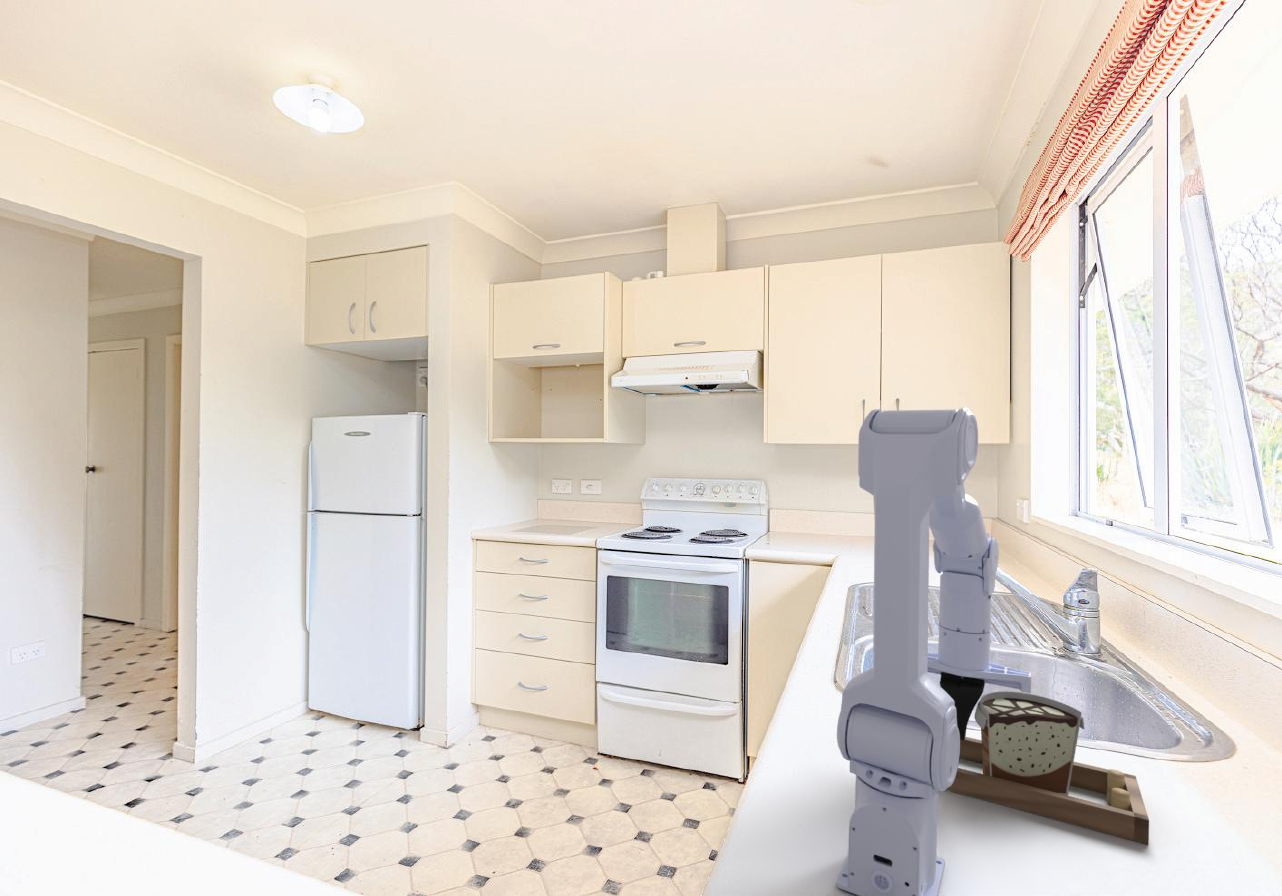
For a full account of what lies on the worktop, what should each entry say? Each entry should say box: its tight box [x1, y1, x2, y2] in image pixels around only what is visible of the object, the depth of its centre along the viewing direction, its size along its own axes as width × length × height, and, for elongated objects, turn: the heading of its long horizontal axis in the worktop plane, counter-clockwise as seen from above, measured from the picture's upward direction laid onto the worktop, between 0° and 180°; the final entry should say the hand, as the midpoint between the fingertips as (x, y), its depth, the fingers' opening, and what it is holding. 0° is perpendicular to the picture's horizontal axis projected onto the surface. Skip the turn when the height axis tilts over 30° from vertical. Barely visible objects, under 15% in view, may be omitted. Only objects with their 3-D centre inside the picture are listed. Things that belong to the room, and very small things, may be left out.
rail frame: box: [945, 736, 1150, 846], centre depth 76 cm, size 11×20×4 cm, turn 58°
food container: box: [973, 690, 1086, 796], centre depth 78 cm, size 12×6×10 cm, turn 94°
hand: (961, 736), depth 81 cm, fingers closed
